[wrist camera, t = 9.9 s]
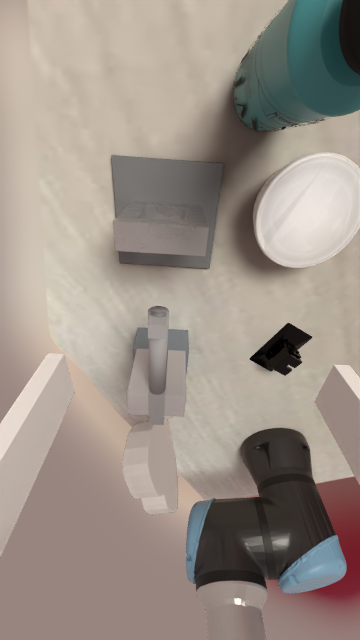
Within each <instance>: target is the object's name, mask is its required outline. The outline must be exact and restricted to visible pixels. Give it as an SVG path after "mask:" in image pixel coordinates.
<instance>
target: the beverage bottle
mask: <svg viewBox="0 0 360 640" xmlns="http://www.w3.org/2000/svg"><path fill="white" fill-rule="evenodd" d="M278 12H279V11H278ZM266 25H267V24H266ZM264 31H265V32H264V33H262V35H261V36H260V38H259V40H257V42H256V41H255V42H256V44H255V45H254V46H252V45H251V47H252V49H251V50H249V51H250V52H249V51H248V52H247V54H246V55H245V57H244V58H243V59H242V62H241V63H242V64H241V66H239V67H240V68H239V67H238V68H239V71H238V74H237V77H235V78H236V81H235V82H234V83H235V84H234V85H235V88H234V100H233V101H234V102H235V105H236V108H237V111H238V114H237V115H239V116H240V118H241V119H242V121H243V122H244V123H245V125H248V126H249V127H250V129H251V128H252V130H253V129H254V131H255V130H257V131H258V130H259V131H267V130H272V129H276V130H277V129H278V128H280V129H282V130H283V129H285V128H286V126H289V127H290V126H291V125H292V126H293V125H298V126H300V125H299V124H300V123H305V122H308V123H309V124H310V122H309V121H314V120H316V121H318V120H319V119H322V121H323V118H325V117H330V118H331V117H336V116H343V115H346V114H350V113H353V112H355V111H358V110H360V0H289V1H288V2H287V3H286V5H285V6H284V7H283V9H282V10H280V13H279V14H278V15H277V16H275V18H274V20H273V21H272V22H271V23H270V25H268V27H267V28H266V30H264ZM261 32H263V31H261ZM256 39H258V38H256ZM253 44H254V43H253ZM234 85H233V86H234ZM235 110H236V109H235ZM239 116H238V117H239ZM240 118H239V119H240ZM324 120H325V119H324ZM320 121H321V120H320ZM318 122H319V121H318ZM308 123H307V125H308ZM314 123H315V122H314ZM314 123H313V124H314ZM316 123H317V122H316ZM303 126H304V125H303ZM281 127H282V128H281ZM294 127H295V126H294ZM296 127H297V126H296ZM287 128H288V127H287ZM278 130H279V129H278ZM278 130H277V131H278ZM274 131H275V130H274ZM255 132H256V131H255ZM269 132H270V131H269Z"/></svg>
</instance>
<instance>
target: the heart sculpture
mask: <svg viewBox="0 0 360 640" xmlns="http://www.w3.org/2000/svg"><path fill="white" fill-rule="evenodd" d="M171 417H174V416H164V418H171ZM122 468H123V474H124V478H125V481H126V484H127V487H128V489H129V491H130V493H131V495H132V496H133V497H134V498H135V499H140V498H141V500H142V504H143V507H144V510H145V511H146V512H147V513H148V514H150V515H153V514H163V513H173V512H176V510H177V506H178V476H177V467H176V458H175V453H174V447H173V442H172V437H171V433H170V429H169V424H168V419H167V420H164V425H149V421H145V422H140V423H137V424H135V425H134V426H133V428H132V429H131V431H130V432H129V434H128V438H127V441H126V445H125V449H124V456H123V464H122Z"/></svg>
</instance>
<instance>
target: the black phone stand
mask: <svg viewBox="0 0 360 640" xmlns="http://www.w3.org/2000/svg"><path fill="white" fill-rule="evenodd" d="M311 338H312V336H310V335H308V334H307V333H305V332H303V331H302V330H300V329H298V328H297V327H295V326H293V325H292V324H290V323H287V324H286V325H285V326H284V327H283V328H282V329H281V330H280V331H279V332H278V333H277V334H275V335H274V336H273V337H272V338H271V339H270V340H269V341H268V342H267V343H266V344H265V345H264V346H262V347H261V348H260V349H259V350H258V351H257V352H256V353H255V354H254V355H253V356H252V357H251V358H250V360H251V361H253V362H255V363H257V364H258V365H260V366H262V367H264V368H266V369H267V370H269V371H272V370H275V371H277V372H279V373H281V374H283V375H285V376H286V375H287V374H288V373H289V372H291V371H292V369H291V368H290V367H288V365H290V366H292V367H294V368H296V367H297V366H298V365H300V364H301V363H302V361H301V359H300V358H301V356H300V354H299V351H298V349H299V348H300V347H302V346H303V345H304V344H305V343H307V342H308V341H309V340H310V339H311Z"/></svg>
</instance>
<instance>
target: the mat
mask: <svg viewBox="0 0 360 640" xmlns="http://www.w3.org/2000/svg"><path fill="white" fill-rule="evenodd" d="M111 157H112V170H113V183H114V196H115V208H116V218H117V216H118V215H119V214H120V213H121V212H122V211H123V210H124V209H125V208H126V207H127V206H128V205H129V204H130V203H131V202H132V201H143V202H158V203H173V204H187V205H201V207H202V210H203V213H204V215H205V218H206V221H207V224H208V227H209V231H208V239H207V247H206V255H205V256H191V255H174V254H158V253H142V252H125V251H119V260H120V263H126V264H142V265H159V266H176V267H193V268H210V260H211V253H212V246H213V238H214V231H215V224H216V216H217V209H218V202H219V194H220V187H221V180H222V172H223V165H224V164H223V163H211V162H197V161H184V160H170V159H156V158H143V157H129V156H116V155H111Z"/></svg>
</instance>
